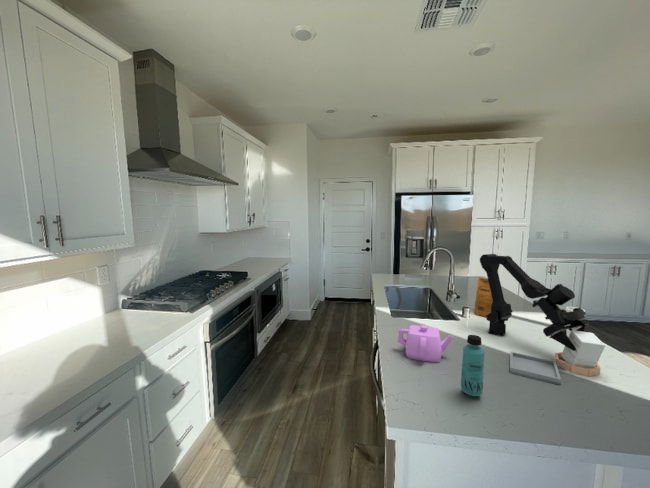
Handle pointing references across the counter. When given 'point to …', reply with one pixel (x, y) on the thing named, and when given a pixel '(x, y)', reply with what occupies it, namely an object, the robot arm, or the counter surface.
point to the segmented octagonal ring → (576, 367)
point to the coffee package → (483, 298)
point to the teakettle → (423, 343)
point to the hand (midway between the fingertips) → (583, 348)
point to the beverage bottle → (472, 366)
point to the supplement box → (583, 349)
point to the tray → (534, 367)
